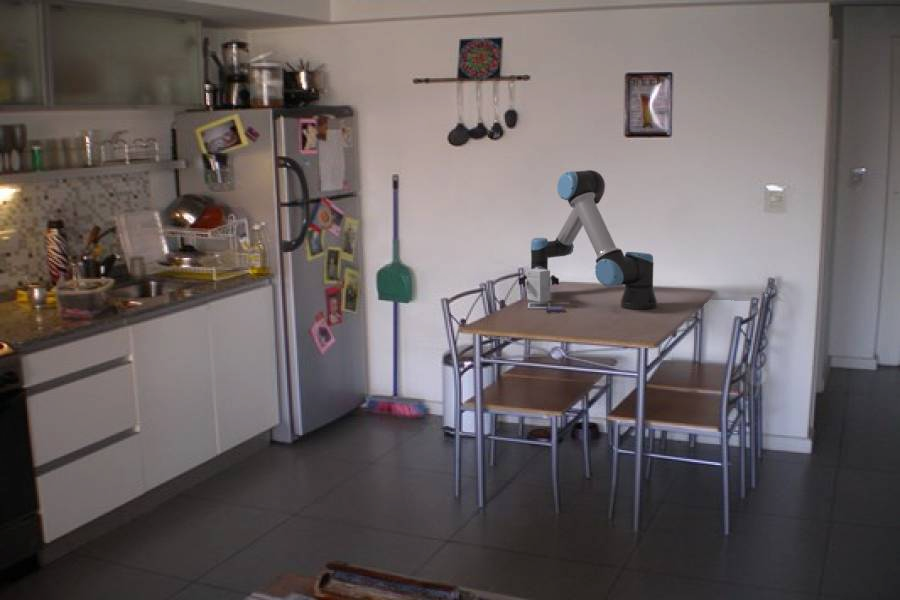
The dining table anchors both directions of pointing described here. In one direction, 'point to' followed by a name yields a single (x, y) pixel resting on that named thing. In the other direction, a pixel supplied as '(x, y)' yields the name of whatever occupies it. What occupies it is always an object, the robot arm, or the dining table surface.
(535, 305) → the print card
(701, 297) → the dining table surface
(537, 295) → the small box
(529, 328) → the dining table surface
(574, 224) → the robot arm
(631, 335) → the dining table surface
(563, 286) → the dining table surface
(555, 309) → the ink pad
